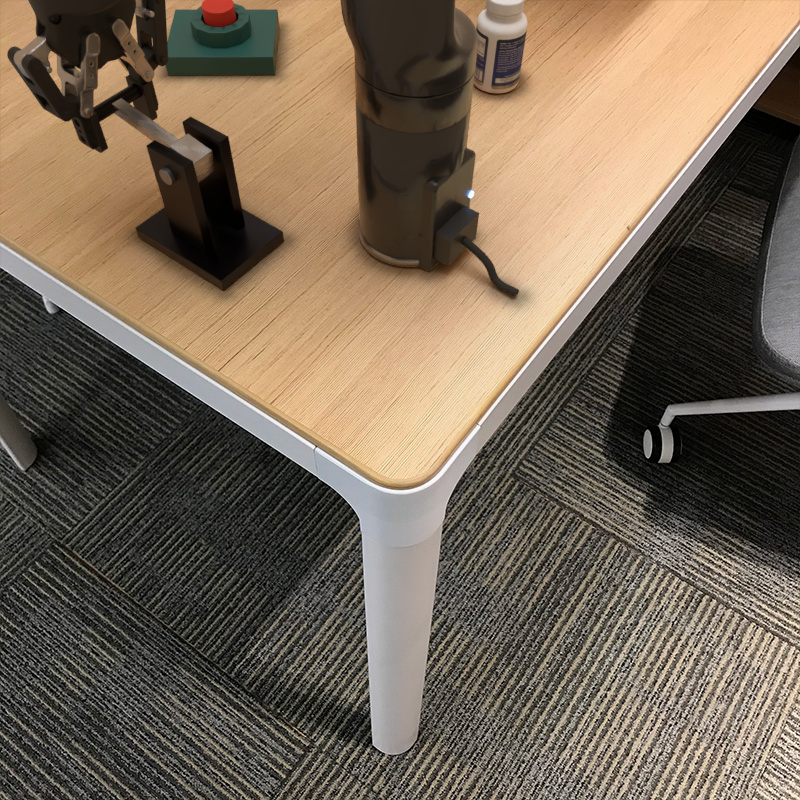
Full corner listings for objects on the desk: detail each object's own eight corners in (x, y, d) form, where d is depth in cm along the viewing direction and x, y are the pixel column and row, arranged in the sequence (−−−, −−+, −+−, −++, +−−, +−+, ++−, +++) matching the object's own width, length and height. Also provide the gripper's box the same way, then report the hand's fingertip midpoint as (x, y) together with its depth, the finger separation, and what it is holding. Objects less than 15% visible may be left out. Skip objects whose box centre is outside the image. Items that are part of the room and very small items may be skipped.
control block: (279, 27, 92) (275, -7, 89) (275, 75, 87) (270, 41, 83) (179, 27, 92) (171, -7, 89) (168, 75, 86) (159, 41, 83)
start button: (237, 11, 87) (235, -4, 86) (235, 28, 85) (232, 13, 84) (205, 11, 87) (203, -4, 86) (202, 28, 85) (199, 13, 84)
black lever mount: (138, 237, 71) (103, 138, 63) (200, 192, 75) (176, 93, 66) (223, 291, 68) (200, 194, 59) (284, 241, 72) (270, 143, 63)
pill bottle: (524, 74, 88) (539, -12, 80) (509, 100, 85) (523, 13, 77) (480, 63, 89) (490, -23, 81) (464, 87, 86) (472, 1, 78)
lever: (89, 124, 66) (84, 102, 64) (134, 97, 68) (129, 75, 66) (183, 194, 64) (180, 172, 62) (226, 163, 66) (224, 142, 64)
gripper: (6, -17, 50) (87, 191, 64) (171, -93, 56) (211, 110, 70) (-63, -54, 52) (29, 154, 66) (102, -122, 59) (154, 80, 73)
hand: (123, 131), depth 68 cm, fingers closed on lever, 5 cm apart
